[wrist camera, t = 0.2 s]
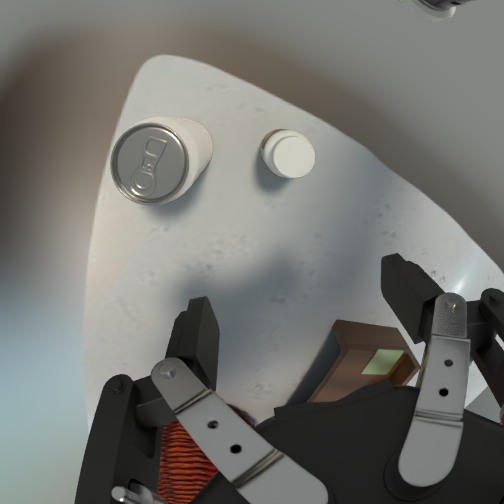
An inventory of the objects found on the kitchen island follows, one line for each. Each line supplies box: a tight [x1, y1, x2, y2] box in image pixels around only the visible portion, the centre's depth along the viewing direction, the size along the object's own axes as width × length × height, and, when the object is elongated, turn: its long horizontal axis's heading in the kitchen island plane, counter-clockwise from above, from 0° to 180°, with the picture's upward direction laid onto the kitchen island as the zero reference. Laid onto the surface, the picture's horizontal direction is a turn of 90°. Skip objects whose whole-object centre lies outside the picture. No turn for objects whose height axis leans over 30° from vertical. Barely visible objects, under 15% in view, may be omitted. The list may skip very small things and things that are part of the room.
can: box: [110, 117, 213, 205], centre depth 22 cm, size 6×6×12 cm
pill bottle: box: [261, 129, 315, 178], centre depth 25 cm, size 4×4×8 cm
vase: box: [158, 406, 254, 504], centre depth 36 cm, size 23×24×30 cm
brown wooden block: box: [307, 320, 421, 402], centre depth 41 cm, size 28×12×9 cm, turn 164°
